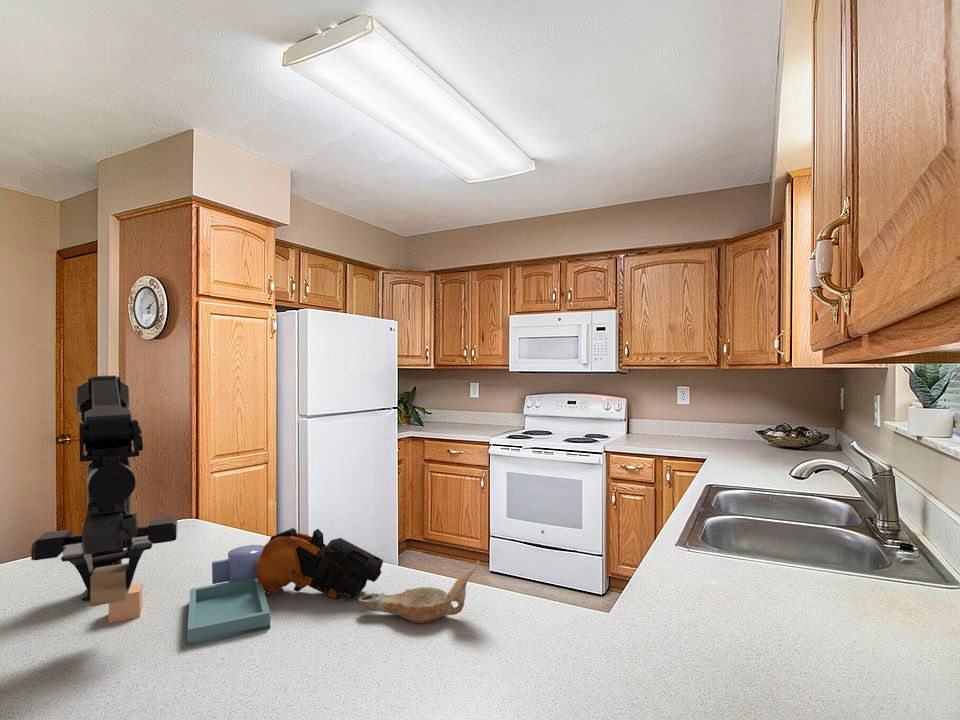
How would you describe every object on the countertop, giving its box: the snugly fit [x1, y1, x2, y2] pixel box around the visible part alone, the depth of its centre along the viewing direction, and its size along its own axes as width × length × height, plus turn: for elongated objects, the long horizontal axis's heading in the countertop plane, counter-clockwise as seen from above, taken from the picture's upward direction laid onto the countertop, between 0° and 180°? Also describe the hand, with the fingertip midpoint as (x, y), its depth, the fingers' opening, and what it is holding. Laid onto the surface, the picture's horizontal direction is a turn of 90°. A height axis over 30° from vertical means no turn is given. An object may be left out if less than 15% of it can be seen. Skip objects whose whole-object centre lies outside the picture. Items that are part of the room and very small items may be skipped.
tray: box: [187, 578, 271, 647], centre depth 96 cm, size 18×12×2 cm, turn 27°
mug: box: [211, 544, 265, 585], centre depth 108 cm, size 7×10×7 cm
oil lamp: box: [358, 560, 480, 624], centre depth 94 cm, size 9×21×10 cm, turn 81°
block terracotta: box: [108, 582, 143, 624], centre depth 96 cm, size 4×4×4 cm
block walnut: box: [90, 562, 129, 607], centre depth 87 cm, size 4×4×4 cm
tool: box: [256, 527, 384, 599], centre depth 104 cm, size 8×23×15 cm, turn 79°
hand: (110, 591), depth 87 cm, fingers closed on block walnut, 4 cm apart
